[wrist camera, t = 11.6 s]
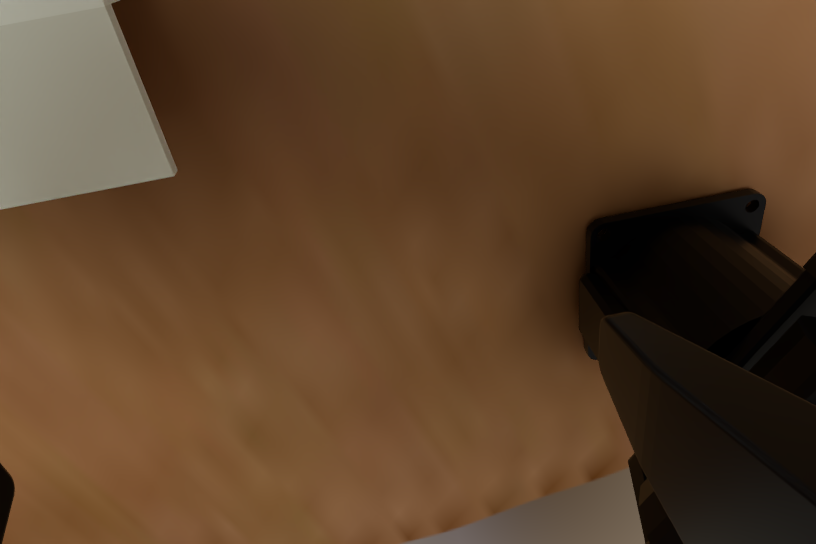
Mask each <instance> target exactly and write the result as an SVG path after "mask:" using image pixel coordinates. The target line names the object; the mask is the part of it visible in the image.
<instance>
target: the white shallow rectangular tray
mask: <svg viewBox="0 0 816 544" xmlns="http://www.w3.org/2000/svg"><path fill="white" fill-rule="evenodd" d="M117 1H119V0H0V210H1V209H6V208H12V207H17V206H22V205H27V204H32V203H38V202H43V201H48V200H53V199H58V198H64V197H69V196H74V195H79V194H84V193H90V192H95V191H100V190H105V189H110V188H116V187H121V186H126V185H131V184H136V183H142V182H147V181H152V180H157V179H162V178H168V177H173V176H175V174H176V172H177V171H178V170H177V167H176V165H175V162H174V160H173V157H172V155H171V152H170V150H169V147H168V145H167V142H166V140H165V137H164V135H163V132H162V130H161V127H160V125H159V122H158V120H157V117H156V115H155V112H154V110H153V107H152V105H151V102H150V100H149V98H148V95H147V93H146V90H145V88H144V85H143V83H142V80H141V78H140V75H139V73H138V70H137V68H136V65H135V63H134V60H133V58H132V55H131V53H130V50H129V48H128V45H127V43H126V40H125V38H124V35H123V33H122V30H121V28H120V25H119V23H118V20H117V18H116V15H115V13H114V10H113V8H112V5H111V4H112V3H115V2H117Z"/></svg>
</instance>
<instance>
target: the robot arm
mask: <svg viewBox="0 0 816 544" xmlns="http://www.w3.org/2000/svg"><path fill="white" fill-rule="evenodd" d="M750 201H752V202H751V204H750V205H749V206H747V207H746V205H747V204H748V203H749V202H750ZM765 205H766V199H765V197H764V195H762V194H760V193H759V192H757V191H755V190H753V189H746V190H741V191H736V192H731V193H726V194H721V195H716V196H711V197H706V198H701V199H695V200H690V201H685V202H680V203H675V204H670V205H665V206H660V207H655V208H650V209H645V210H639V211H634V212H629V213H624V214H619V215H614V216H609V217H604V218H599V219H597V220H594V221H593V222H592V223H591V224H590V225H589V227H588V228H587V232H586V273H585V274H583V275H582V277H581V279H580V281H579V330H580V332H581V333H582V335H583V337H584V348H585V351H586V353H587V354H588V356H589V357H590V358H591V359H594V360H598V361H599V366H600V370H601V374H602V376H603V379H604V381H605V383H606V386H607V388H608V391H609V393H610V395H611V398H612V400H613V402H614V405H615V407H616V410H617V412H618V414H619V417H620V419H621V421H622V424H623V426H624V429H625V431H626V433H627V436H628V438H629V440H630V443H631V445H632V448H633V450H634V452H635V453H634V454H633V455H632V456H631V457H630V459H629V460H628V464H629V468H630V473H631V477H632V482H633V487H634V491H635V496H636V501H637V505H638V510H639V515H640V519H641V524H642V529H643V534H644V538H645V544H816V253H815V254H814V255H813V256H812V257H811V258H810V259H809V261H808V262H807V263H806V264H805V265H804V266H803V268H804V269H803V268H802V267H801V266H799V265H798V264H797V263H795V262H794V261H793V260H791V259H790V258H789V257H787V256H786V255H785V254H783V253H782V252H781V251H779V250H778V249H776V248H775V247H774V246H772V245H771V244H770V243H768V242H767V241H766V240H764V239H763V238H762V237H760V236H759V233H760V229H761V224H762V219H763V214H764V210H765ZM604 229H606V232H605V233H604V234H603V235H601V236H597V235H598V233H599V232H600V231H601V230H604ZM14 491H15V487H14V481H13V479H12V477H11V475H10V474H9V473H8V472H7V470H6V469H5V468H4V467H3V466H2V464H1V463H0V544H2V541H3V537H4V533H5V529H6V525H7V521H8V517H9V513H10V509H11V505H12V501H13V497H14Z"/></svg>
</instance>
